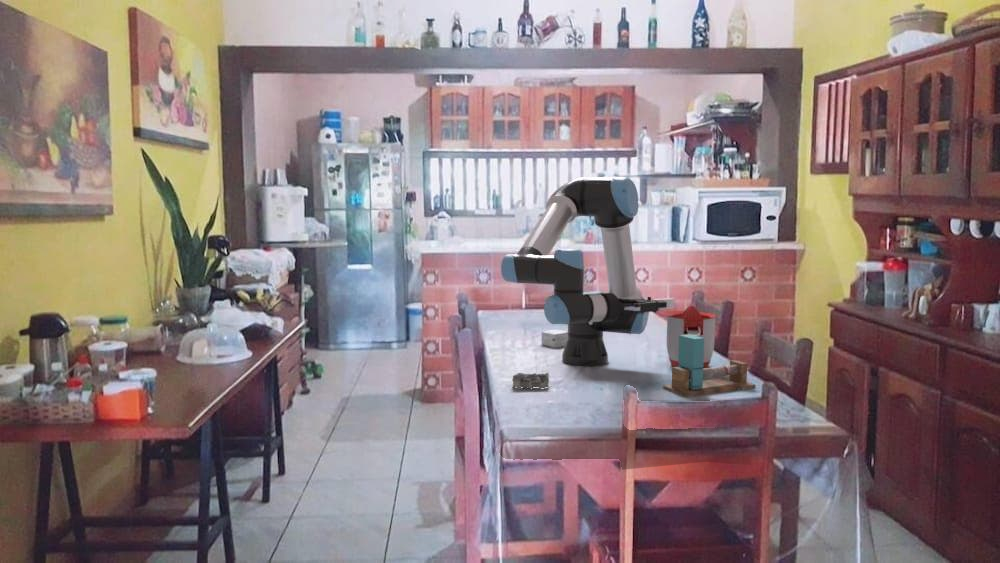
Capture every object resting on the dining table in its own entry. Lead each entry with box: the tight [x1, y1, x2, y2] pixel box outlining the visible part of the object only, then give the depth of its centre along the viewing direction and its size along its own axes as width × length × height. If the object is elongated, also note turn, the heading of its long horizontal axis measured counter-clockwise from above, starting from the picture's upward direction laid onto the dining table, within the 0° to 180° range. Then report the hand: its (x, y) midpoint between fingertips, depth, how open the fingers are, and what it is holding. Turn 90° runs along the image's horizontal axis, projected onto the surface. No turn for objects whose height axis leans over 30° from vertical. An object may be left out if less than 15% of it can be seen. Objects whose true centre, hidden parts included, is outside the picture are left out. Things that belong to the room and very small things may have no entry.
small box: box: [541, 329, 568, 349], centre depth 279 cm, size 8×8×5 cm
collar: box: [678, 334, 704, 390], centre depth 213 cm, size 4×7×14 cm, turn 25°
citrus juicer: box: [666, 304, 717, 368], centre depth 243 cm, size 16×17×20 cm
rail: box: [662, 359, 756, 398], centre depth 216 cm, size 25×10×7 cm, turn 115°
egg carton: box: [511, 372, 550, 388], centre depth 218 cm, size 11×8×4 cm
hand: (672, 303), depth 209 cm, fingers closed
